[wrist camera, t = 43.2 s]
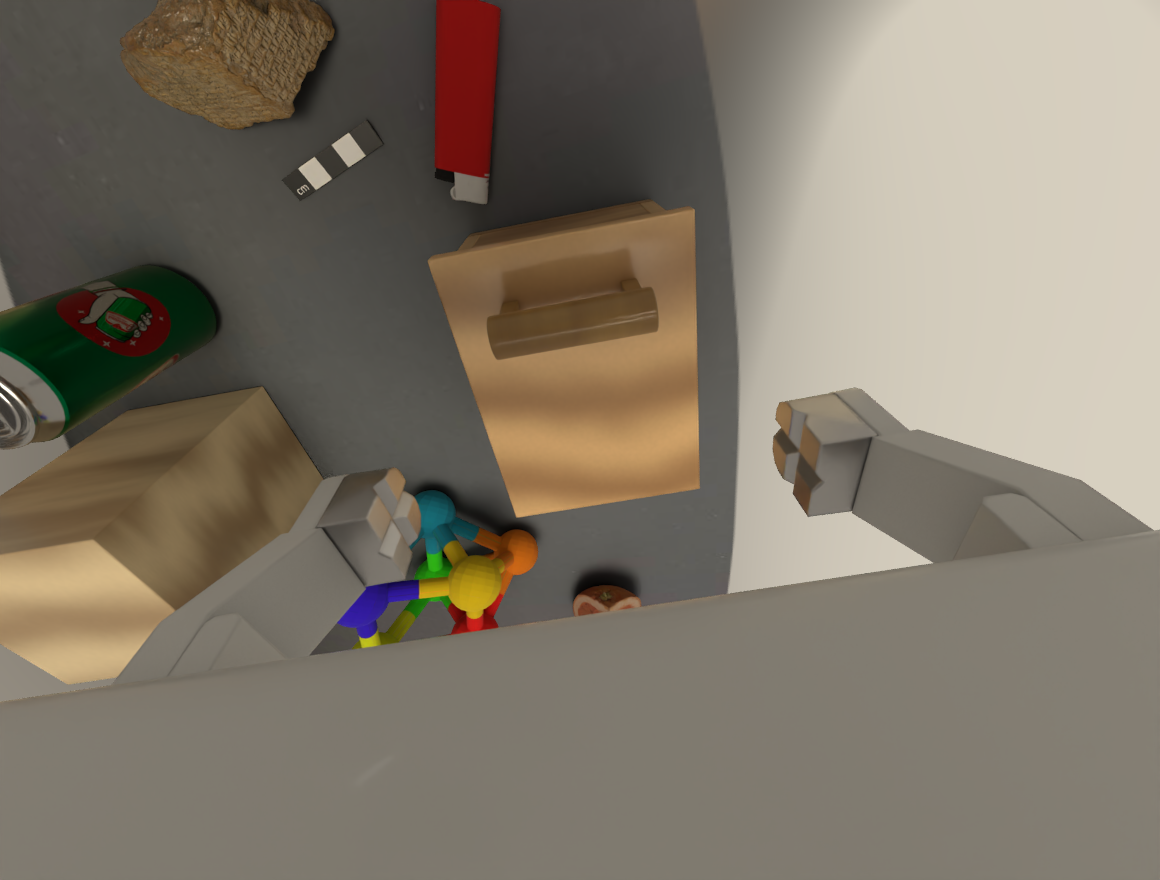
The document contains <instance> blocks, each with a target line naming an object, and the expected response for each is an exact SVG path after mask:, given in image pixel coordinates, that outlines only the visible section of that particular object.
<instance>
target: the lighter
mask: <svg viewBox="0 0 1160 880" xmlns="http://www.w3.org/2000/svg"><path fill="white" fill-rule="evenodd" d="M500 12H501V9H500V8H499V7H497V6H495V5H492V4H489V3H486V2H482V1H479V0H436V90H435V167H436V172H435V178H436V179H440V180H444V181H448V182H452V183H454V182H455V186H454V187H453V188H452V189H451V191H450V193H451V196H452V198H453V199H455V200H457V201H458V200H464V201H469V202H474V203H480V204H487V199H488V185H489V182H488V180H489V176H490V173H489V171H490V156H491V142H492V127H493V113H494V99H495V84H496V70H497V55H498V41H499V27H500Z"/></svg>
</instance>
